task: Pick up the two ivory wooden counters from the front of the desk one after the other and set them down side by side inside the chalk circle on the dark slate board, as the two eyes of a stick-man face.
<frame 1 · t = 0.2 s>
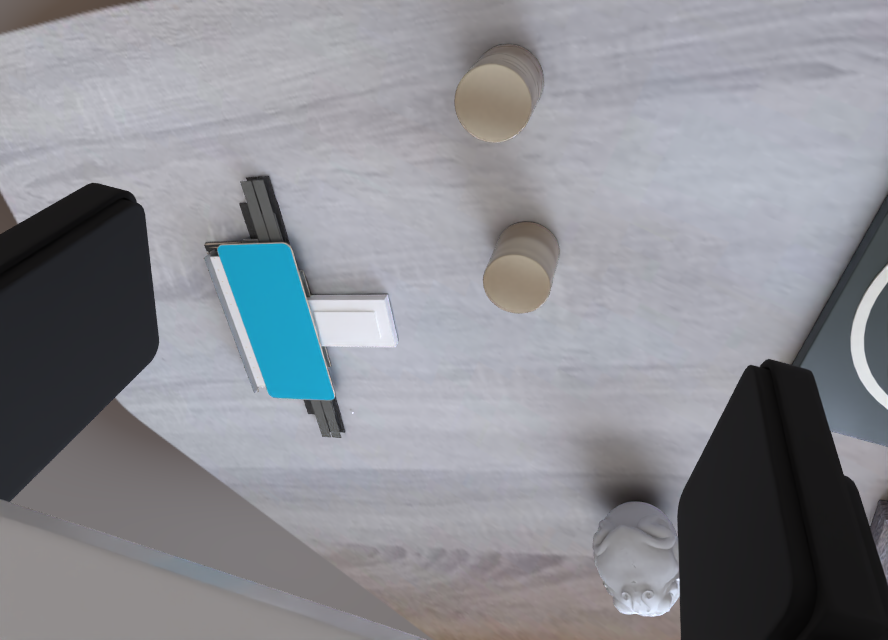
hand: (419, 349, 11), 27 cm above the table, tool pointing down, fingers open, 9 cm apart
frog figurine: (640, 512, 49), on the table
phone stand: (311, 316, 47), on the table
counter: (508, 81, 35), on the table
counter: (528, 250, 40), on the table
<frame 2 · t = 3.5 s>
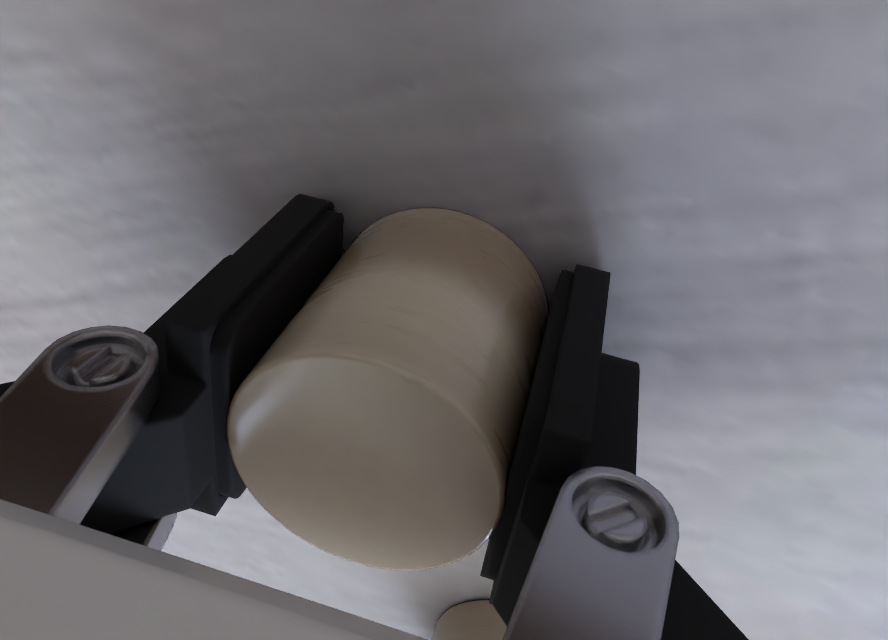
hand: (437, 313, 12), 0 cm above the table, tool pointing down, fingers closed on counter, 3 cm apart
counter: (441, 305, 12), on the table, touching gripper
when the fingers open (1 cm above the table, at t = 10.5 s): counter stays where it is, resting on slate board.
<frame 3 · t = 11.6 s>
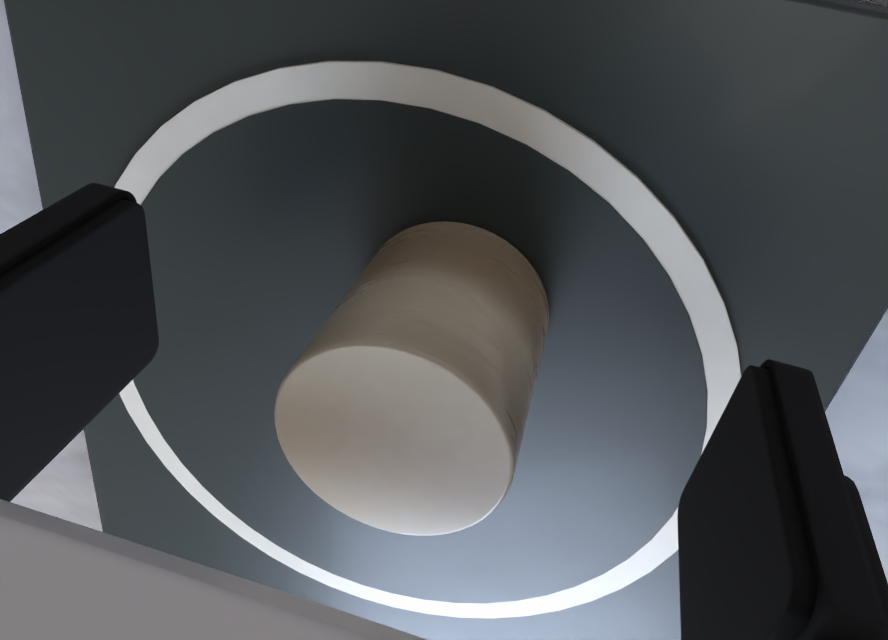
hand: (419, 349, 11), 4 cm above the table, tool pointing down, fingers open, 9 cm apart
slate board: (403, 373, 16), on the table
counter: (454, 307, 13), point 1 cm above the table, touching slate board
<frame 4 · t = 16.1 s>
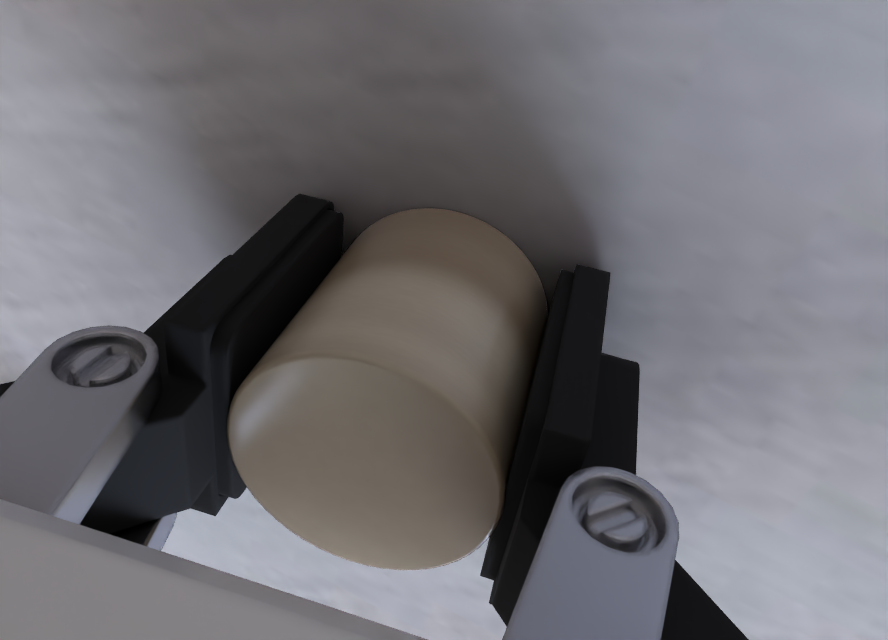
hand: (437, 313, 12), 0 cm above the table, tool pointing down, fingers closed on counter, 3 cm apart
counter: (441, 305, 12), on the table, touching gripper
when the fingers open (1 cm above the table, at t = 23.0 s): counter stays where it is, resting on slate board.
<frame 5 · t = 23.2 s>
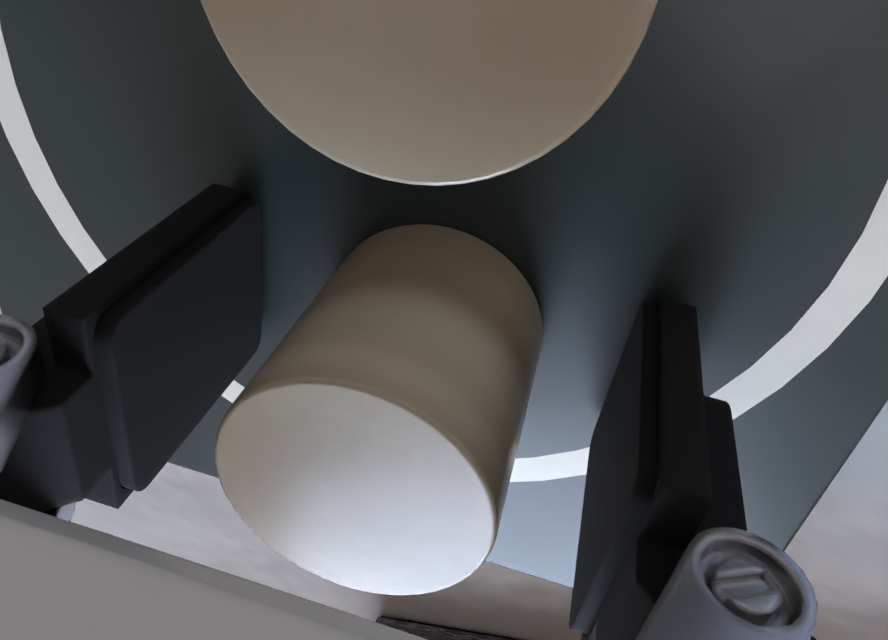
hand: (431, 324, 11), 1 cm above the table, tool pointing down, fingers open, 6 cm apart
slate board: (419, 101, 11), on the table
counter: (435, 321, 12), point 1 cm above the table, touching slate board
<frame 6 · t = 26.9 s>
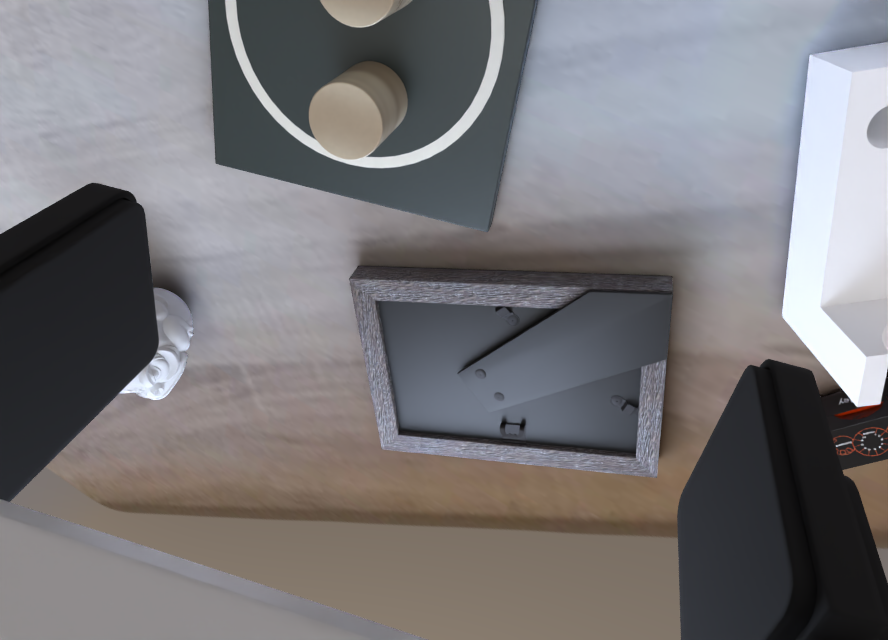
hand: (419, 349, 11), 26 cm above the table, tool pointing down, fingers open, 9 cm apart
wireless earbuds: (867, 385, 38), on the table
frog figurine: (177, 307, 48), on the table
slate board: (367, 23, 34), on the table
picture frame: (512, 363, 44), on the table
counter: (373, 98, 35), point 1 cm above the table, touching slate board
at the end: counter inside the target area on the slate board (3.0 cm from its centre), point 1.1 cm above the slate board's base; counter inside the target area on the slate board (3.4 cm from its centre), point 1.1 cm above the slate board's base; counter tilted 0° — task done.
